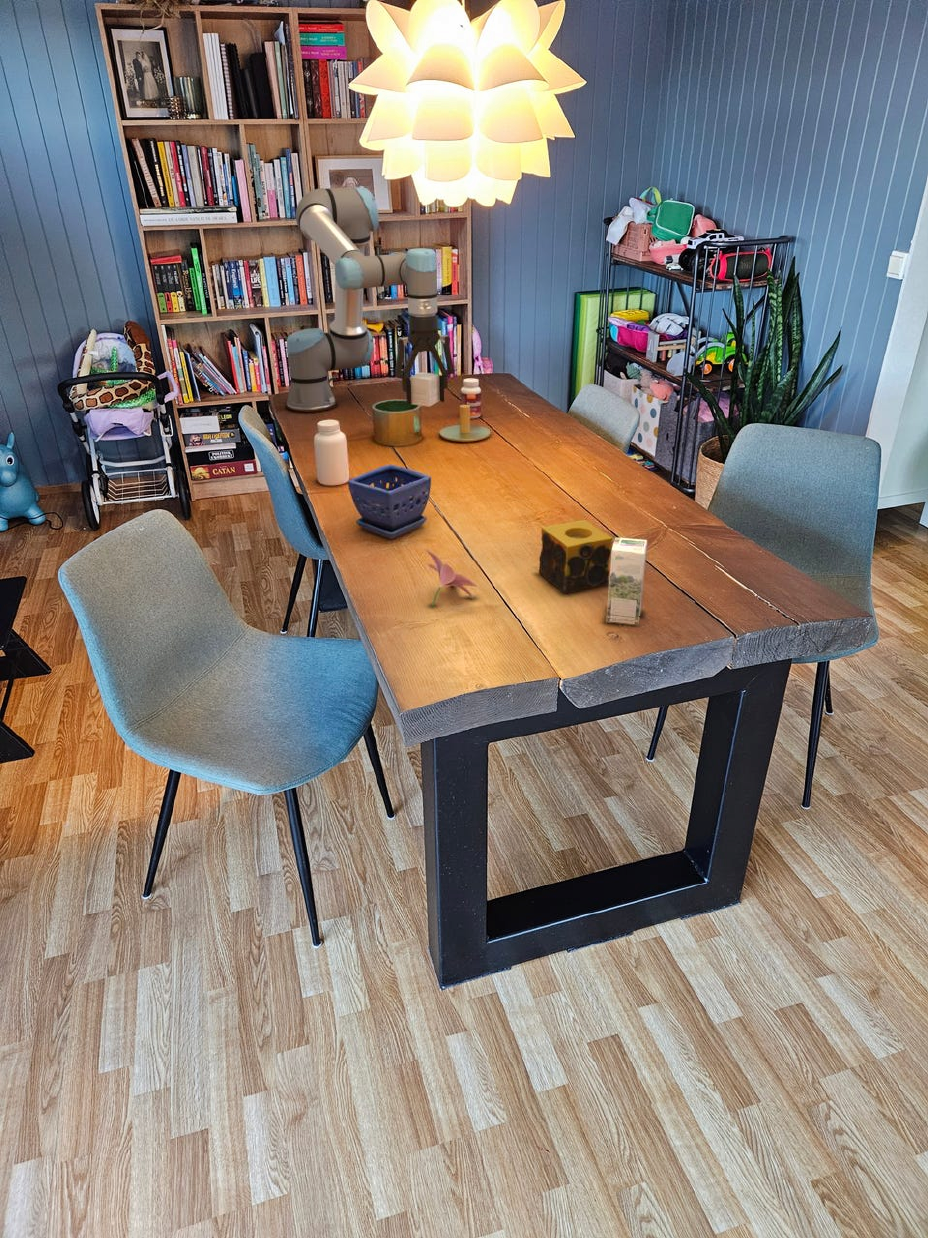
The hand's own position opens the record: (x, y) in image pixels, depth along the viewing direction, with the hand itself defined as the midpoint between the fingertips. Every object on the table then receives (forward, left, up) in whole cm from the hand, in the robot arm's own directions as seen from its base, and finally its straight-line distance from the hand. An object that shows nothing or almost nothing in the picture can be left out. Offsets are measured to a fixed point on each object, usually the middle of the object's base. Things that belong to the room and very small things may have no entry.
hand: (425, 401), depth 237 cm
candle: (+87, +9, -13) cm, 89 cm away
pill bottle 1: (+18, -28, -13) cm, 36 cm away
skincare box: (0, 0, -1) cm, 1 cm away
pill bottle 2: (-28, +20, -13) cm, 37 cm away
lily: (+88, -16, -13) cm, 91 cm away
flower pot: (+52, -20, -13) cm, 58 cm away
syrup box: (+104, +12, -13) cm, 106 cm away
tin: (-12, -6, -13) cm, 18 cm away
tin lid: (-9, +13, -13) cm, 20 cm away
